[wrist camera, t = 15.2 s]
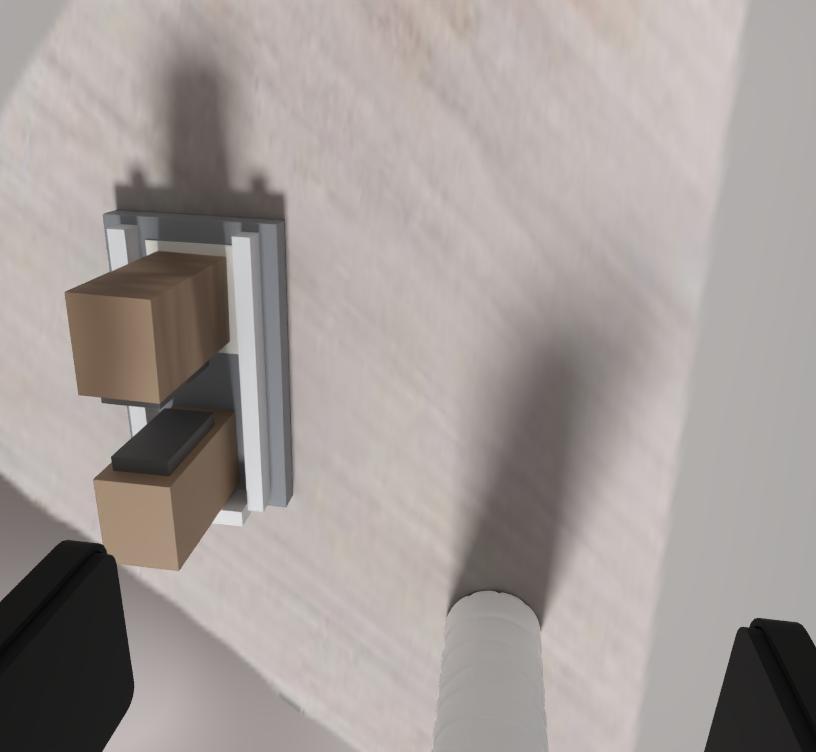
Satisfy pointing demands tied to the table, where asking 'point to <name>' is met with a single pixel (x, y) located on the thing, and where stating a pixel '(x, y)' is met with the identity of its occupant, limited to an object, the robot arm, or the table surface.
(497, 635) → the water bottle
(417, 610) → the table surface
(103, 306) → the walnut finger
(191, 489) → the frame
